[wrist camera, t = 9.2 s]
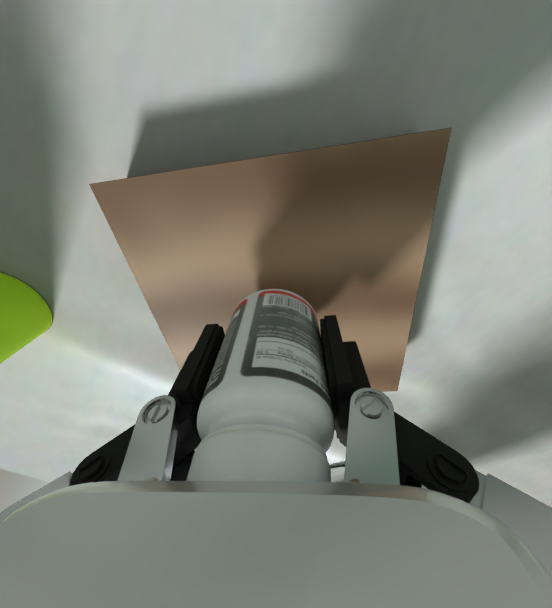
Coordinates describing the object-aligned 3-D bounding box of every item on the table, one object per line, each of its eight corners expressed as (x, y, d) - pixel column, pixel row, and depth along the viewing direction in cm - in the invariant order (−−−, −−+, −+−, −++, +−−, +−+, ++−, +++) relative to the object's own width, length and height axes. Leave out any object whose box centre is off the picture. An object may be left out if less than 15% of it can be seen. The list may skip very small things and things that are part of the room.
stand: (384, 361, 20) (397, 391, 18) (205, 370, 22) (193, 397, 20) (417, 132, 12) (451, 127, 9) (126, 178, 14) (89, 184, 11)
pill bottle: (259, 363, 15) (230, 551, 8) (215, 306, 13) (123, 494, 6) (331, 339, 14) (372, 540, 7) (296, 271, 11) (301, 461, 4)
